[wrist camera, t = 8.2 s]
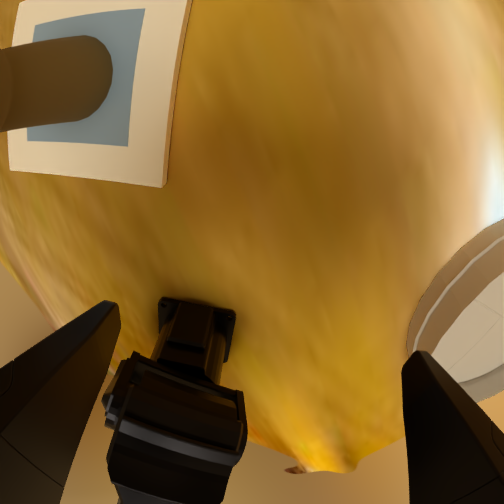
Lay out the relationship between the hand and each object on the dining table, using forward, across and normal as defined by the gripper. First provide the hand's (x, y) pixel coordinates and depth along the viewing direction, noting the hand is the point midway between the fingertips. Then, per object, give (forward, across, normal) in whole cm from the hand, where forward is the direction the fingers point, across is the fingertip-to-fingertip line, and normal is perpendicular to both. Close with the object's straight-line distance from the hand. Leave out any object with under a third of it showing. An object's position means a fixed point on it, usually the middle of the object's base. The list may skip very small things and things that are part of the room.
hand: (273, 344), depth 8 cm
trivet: (+13, +14, -6) cm, 20 cm away
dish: (+14, -26, +7) cm, 30 cm away
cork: (+12, +14, -6) cm, 19 cm away
